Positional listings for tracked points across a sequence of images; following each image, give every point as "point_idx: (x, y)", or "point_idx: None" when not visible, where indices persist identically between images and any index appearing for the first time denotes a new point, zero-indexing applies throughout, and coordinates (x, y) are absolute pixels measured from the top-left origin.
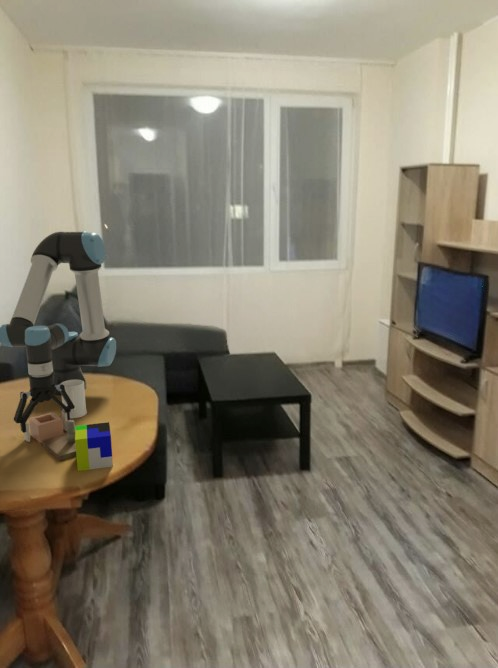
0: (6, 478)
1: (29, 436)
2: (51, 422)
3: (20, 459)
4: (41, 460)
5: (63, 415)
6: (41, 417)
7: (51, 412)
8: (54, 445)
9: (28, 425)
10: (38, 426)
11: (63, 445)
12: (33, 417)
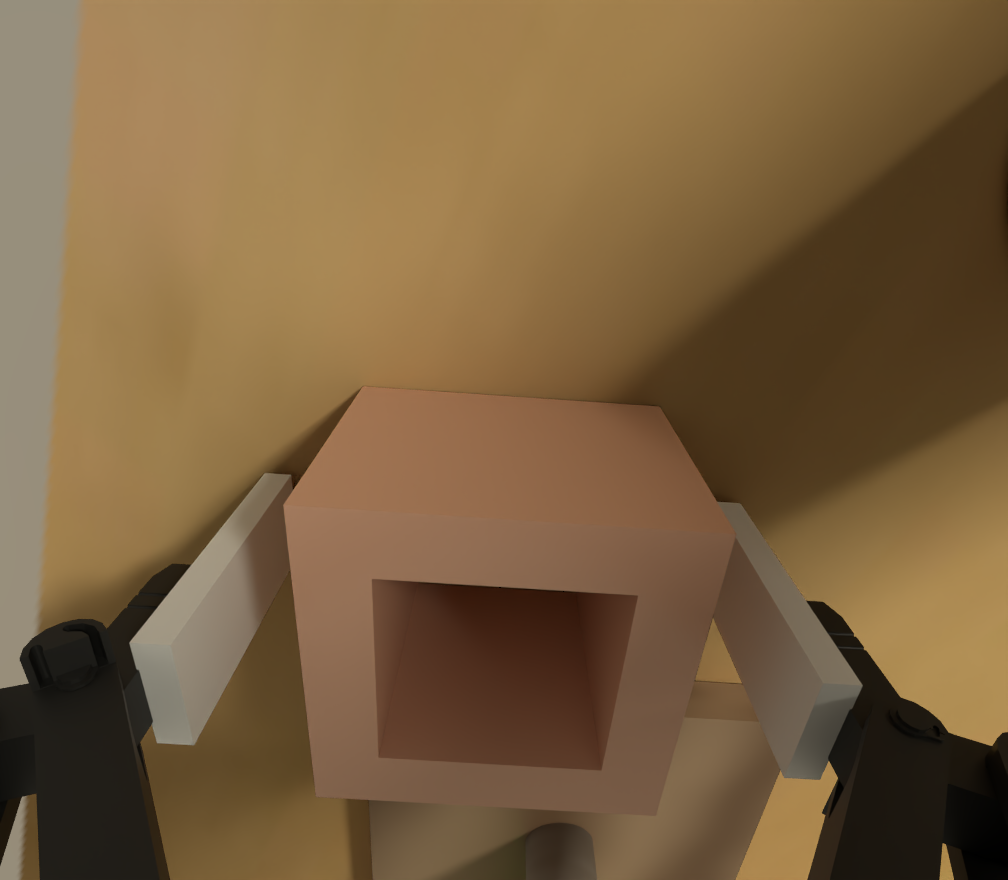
0: (26, 877)
1: (273, 591)
2: (503, 801)
3: (147, 749)
4: (280, 834)
5: (776, 691)
6: (484, 578)
7: (714, 533)
8: (417, 817)
9: (210, 708)
10: (324, 785)
11: (473, 851)
12: (363, 525)
